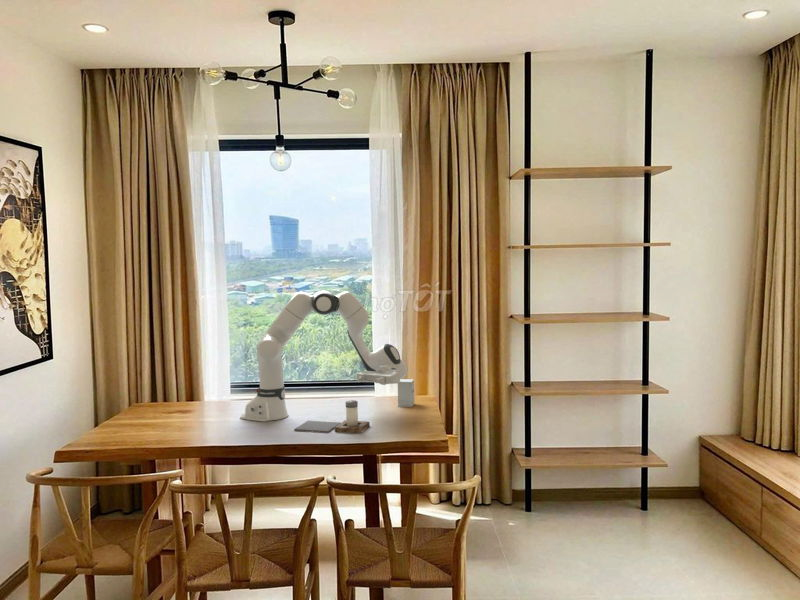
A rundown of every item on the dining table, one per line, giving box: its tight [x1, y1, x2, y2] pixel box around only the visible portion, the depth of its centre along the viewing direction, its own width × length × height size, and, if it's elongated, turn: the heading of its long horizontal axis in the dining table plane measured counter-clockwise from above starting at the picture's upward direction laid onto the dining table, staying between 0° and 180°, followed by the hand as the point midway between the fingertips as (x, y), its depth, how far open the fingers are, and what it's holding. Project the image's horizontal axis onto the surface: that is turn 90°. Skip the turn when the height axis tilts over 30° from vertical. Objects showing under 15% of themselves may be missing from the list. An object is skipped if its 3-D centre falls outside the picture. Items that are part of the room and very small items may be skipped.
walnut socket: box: [334, 419, 370, 434], centre depth 275 cm, size 12×12×2 cm
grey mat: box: [293, 420, 341, 434], centre depth 279 cm, size 16×14×1 cm
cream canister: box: [345, 399, 359, 427], centre depth 275 cm, size 5×5×12 cm
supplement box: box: [397, 378, 415, 408], centre depth 316 cm, size 7×7×13 cm
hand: (367, 380), depth 284 cm, fingers open, 8 cm apart
